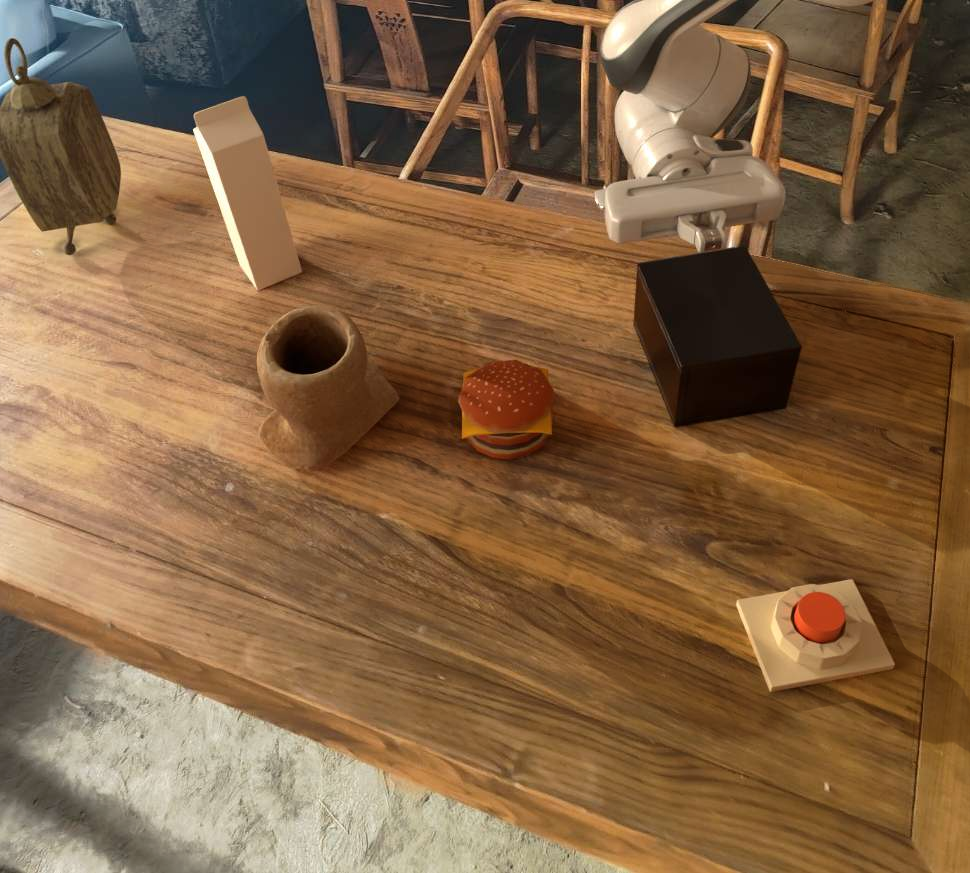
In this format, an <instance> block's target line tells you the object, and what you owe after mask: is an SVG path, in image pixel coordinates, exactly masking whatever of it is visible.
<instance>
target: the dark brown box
mask: <svg viewBox="0 0 970 873" xmlns="http://www.w3.org/2000/svg"><path fill="white" fill-rule="evenodd" d="M729 248H730V249H724V250H717V251H711V252H705V253H699V252H698V253H699V254H694V253H692V254H693V255H688V254H686V255H687V256H682V255H680V256H681V257H675V256H673V257H674V258H669V257H667V258H668V259H663V258H661V259H662V260H657V259H655V260H656V261H651V260H649V261H650V262H645V261H643V262H644V263H639V262H638V263H637V264H636V278H635V292H634V293H635V294H634V310H633V323H632V325H633V328H634V330H635V332H636V335H637V337H638V338H637V339H638V340H639V342H640V345H641V347H642V351H643V354H644V355H645V357H646V360H647V363H648V365H649V367H650V370H651V373H652V375H653V378H654V381H655V383H656V385H657V388H658V391H659V393H660V395H661V398H662V400H663V402H664V405H665V408H666V410H667V412H668V416H669V418H670V420H671V423H672V425H673V427H674V428H679V427H686V426H691V425H698V424H703V423H708V422H709V423H710V422H715V421H720V420H726V419H732V418H737V417H744V416H749V415H755V414H761V413H768V412H773V411H779V410H784V409H787V408H788V404H789V399H790V396H791V391H792V387H793V384H794V380H795V376H796V371H797V368H798V363H799V360H800V357H801V356H800V355H801V353H802V349H803V346H802V344H801V342H800V340H799V338H798V336H797V335H796V333H795V331H794V330H793V328H792V326H791V324H790V322H789V321H788V318H787V317H786V315H785V314H784V311H783V310H782V308H781V307H780V304H779V303H778V301H777V300H776V297H775V296H774V293H773V292H772V291H771V288H770V287H769V285H768V283H767V282H766V281H765V278H764V276H763V275H762V273H761V271H760V269H759V267H758V266H757V264H756V262H755V261H754V259H753V257H752V255H751V254H750V251H749V250H748V248H747V246H746V245H742V246H737V247H736V246H735V248H731V247H729Z"/></svg>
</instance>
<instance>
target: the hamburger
mask: <svg viewBox="0 0 970 873" xmlns="http://www.w3.org/2000/svg"><path fill="white" fill-rule="evenodd" d="M462 376H463V377H462V388H461V391H460V394H459V395H458V399H457V403H458V405H459V408H460V409H461V439H462V440H463V439H467V441H468V442H469V444H471V445H472V447H473V448H474V449H475V450H476V451H477V452H479V453H481V454H483V455H486V456H487V457H489V458H492V459H500V460H514V459H520V458H523V457H528V456H530V455H531V454H533V453H535V452H536V451H539V449H542V447H543V446H544V445H545V444H546V442H547V441H548V439H549V438H550V437H551V435H553V427H554V416H553V410H554V409H553V407H554V402H553V401H554V398H555V395H556V391H555V390H554V387H553V386H552V384H551V383H550V378H549V368H547V367H546V368H545V367H540V366H533V365H532V364H529V363H526V362H523V361H520V360H518V359H511V360H510V359H509V360H499V361H489V362H487V363H486V364H484V365H482V366H481V367H480V368H478V369H473V370H469V371H466V372H464V373H463V375H462Z"/></svg>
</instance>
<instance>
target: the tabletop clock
mask: <svg viewBox="0 0 970 873" xmlns="http://www.w3.org/2000/svg"><path fill="white" fill-rule="evenodd" d="M14 45H15V46H16V47H17V49H18V51H19V54H20V57H21V65H19V66H16V67H15V70H14V71H15V73H16V76H17V77H18V79H17V78H16V76H15V74H14V72H13V67H12V61H11V60H12V58H11V54H12V49H13V46H14ZM3 55H4V63H5V67H6V70H7V73H8V75H9V77H10V80H11V81H12V82H13V83H14V84H13V86H12V87H11V89H10V91H8V92H7V93H5V95H4V97H3V100H2V102H1V104H0V159H1V162H2V165H3V166H4V169H5V171H6V173H7V175H8V177H9V179H10V181H11V183H12V185H13V187H14V189H15V191H16V193H17V195H18V197H19V199H20V200H21V202H22V204H23V205H24V206H23V207H24V208H25V209H26V211H27V213H28V214H29V216H30V217H31V219H32V222H34V224H35V225H36V227H37V228H38V229H39V230H40V231H41V232H43V233H44V232H48V231H49V232H50V231H54V230H55V231H56V230H61V229H66V242H64V243H63V245H62V246H61V249H62V251H63V253H64V254H65V255H66V256H72V255H74V254H75V253H76V251H77V248H76V245H75V244H74V243H73V238H74V234H75V233H74V232H75V229H76V227H78V226H85V225H91V224H96V223H102V222H103V221H104V224H106V225H107V226H108V225H109V226H113V225H115V224H116V223H117V217H116V214H114V213H113V212H115V211H116V210H117V206H118V202H119V198H120V191H121V181H122V168H121V162H120V159H119V156H118V153H117V150H116V148H115V145H114V142H113V139H112V137H111V135H110V133H109V130H108V128H107V125H106V123H105V121H104V118H103V116H102V114H101V111H100V109H99V107H98V105H97V103H96V100H95V98H94V96H93V94H92V92H91V91H90V89H89V87H87V86H84V85H82V84H79V83H76V82H74V81H67V82H61V83H60V82H59V83H53V84H50V83H49V82H48V81H46V80H44V79H41V78H39V77H34V76H32V77H29V75H28V70H29V68H28V61H27V56H26V53H25V51H24V48H23V46H22V44H21V43H20V41H19V40H18V39H16V38H15V37H14V38H12V37H10V38H9V39H8V40H7V41H6V42H5V46H4V52H3Z"/></svg>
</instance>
